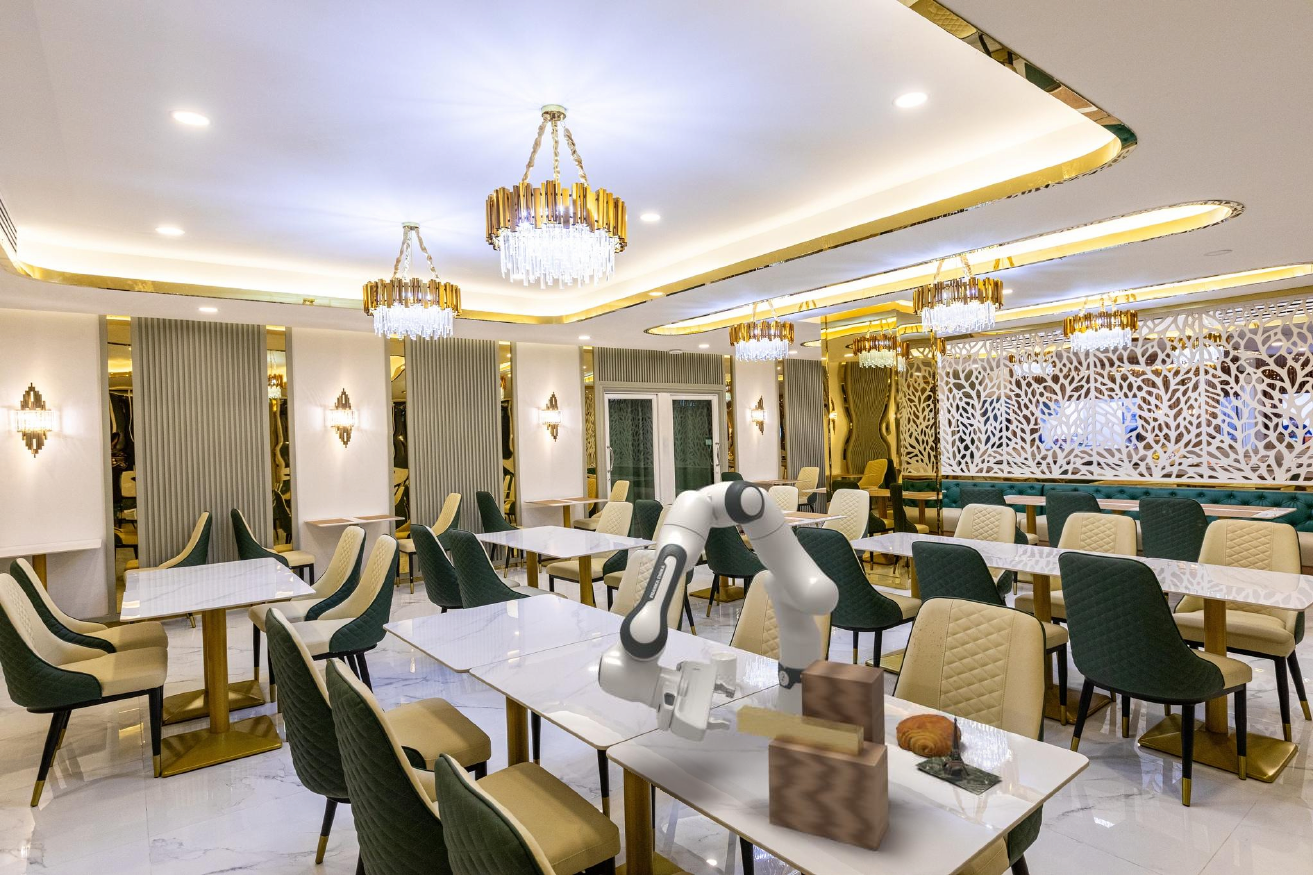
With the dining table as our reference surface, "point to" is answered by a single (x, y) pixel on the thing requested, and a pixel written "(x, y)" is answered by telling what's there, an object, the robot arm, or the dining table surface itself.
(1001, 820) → the dining table surface
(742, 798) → the dining table surface
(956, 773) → the eiffel tower figurine
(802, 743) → the rail
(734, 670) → the white cup
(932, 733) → the croissant
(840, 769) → the stand
